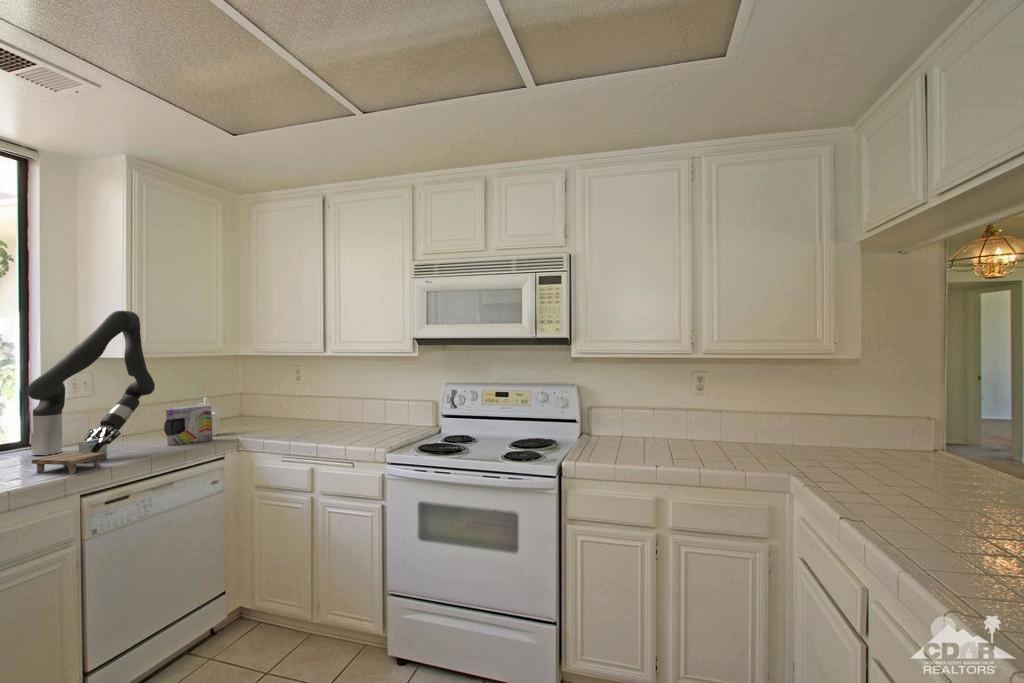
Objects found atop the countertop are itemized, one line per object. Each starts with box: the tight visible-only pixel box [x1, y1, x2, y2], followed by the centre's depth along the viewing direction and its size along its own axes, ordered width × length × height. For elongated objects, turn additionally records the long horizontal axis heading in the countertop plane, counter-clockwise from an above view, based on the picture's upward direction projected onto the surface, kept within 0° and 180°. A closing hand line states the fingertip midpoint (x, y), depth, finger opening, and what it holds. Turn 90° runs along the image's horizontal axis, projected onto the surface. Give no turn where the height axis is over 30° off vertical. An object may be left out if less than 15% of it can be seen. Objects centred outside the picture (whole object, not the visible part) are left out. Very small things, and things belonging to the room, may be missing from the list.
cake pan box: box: [163, 404, 214, 446], centre depth 228 cm, size 19×5×18 cm, turn 123°
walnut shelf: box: [31, 451, 105, 475], centre depth 180 cm, size 18×12×5 cm, turn 81°
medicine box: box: [78, 437, 108, 463], centre depth 194 cm, size 8×4×9 cm, turn 170°
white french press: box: [196, 396, 220, 437], centre depth 246 cm, size 10×9×20 cm
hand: (88, 451), depth 192 cm, fingers closed on medicine box, 4 cm apart
